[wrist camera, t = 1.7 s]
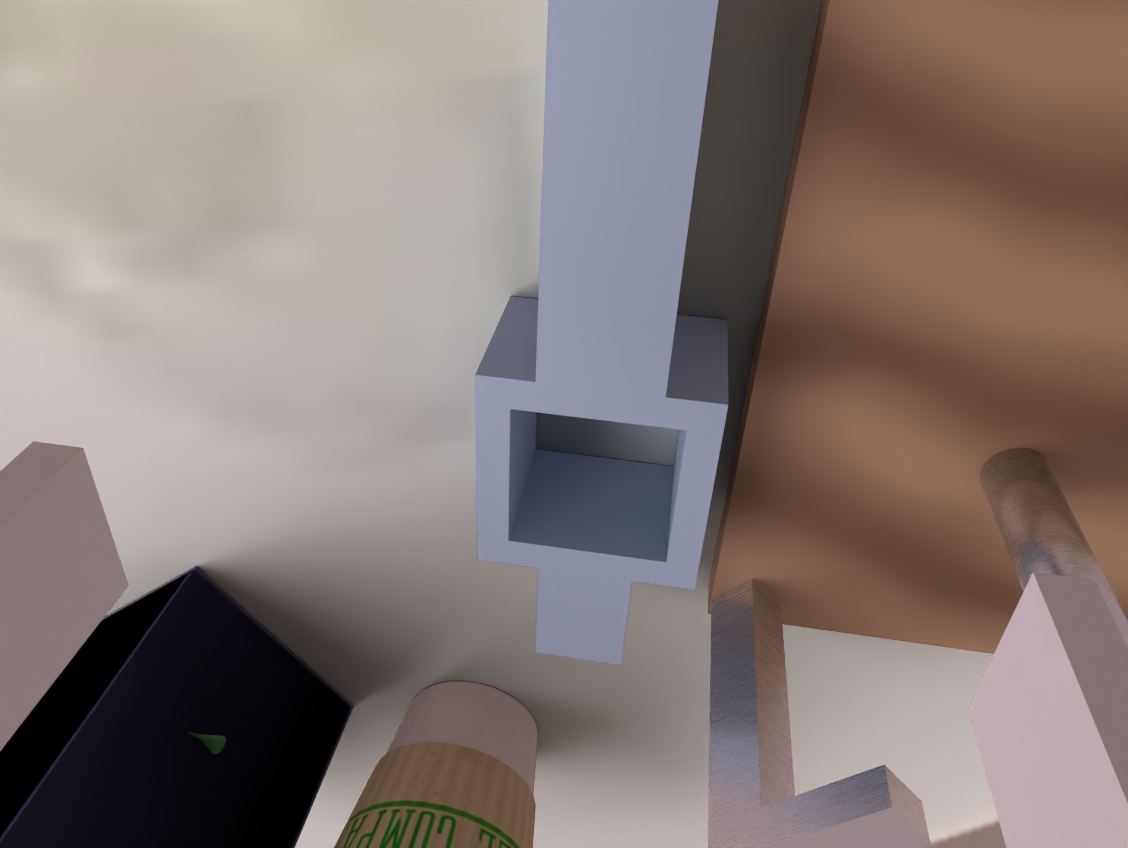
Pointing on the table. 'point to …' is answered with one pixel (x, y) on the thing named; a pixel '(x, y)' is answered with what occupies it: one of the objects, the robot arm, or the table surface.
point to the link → (607, 329)
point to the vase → (172, 733)
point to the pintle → (1041, 523)
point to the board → (938, 316)
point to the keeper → (782, 751)
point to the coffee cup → (452, 775)
